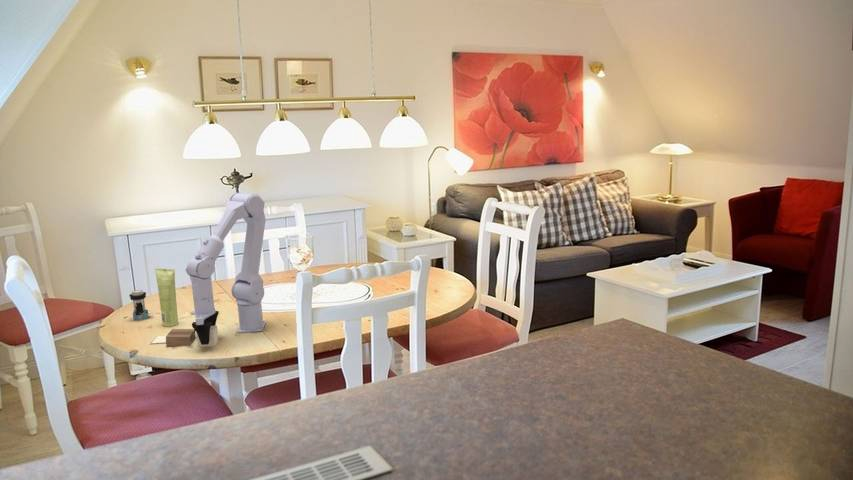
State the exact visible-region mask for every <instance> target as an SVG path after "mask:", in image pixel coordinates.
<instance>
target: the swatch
mask: <svg viewBox="0 0 853 480" xmlns="http://www.w3.org/2000/svg"><path fill="white" fill-rule="evenodd" d="M166 336H167V335H159V336H155V338H154V339H153V340H152V341H151V342H150V344H149V346H150V345H162V344H163V345H164V344H165V345H166Z"/></svg>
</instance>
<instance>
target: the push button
mask: <svg viewBox="0 0 853 480" xmlns="http://www.w3.org/2000/svg"><path fill="white" fill-rule="evenodd" d="M128 296H129V299H130V301H132V303H133V312H132V317H133V318H132V320H133V321H142V319H143V320H148V319H149V318H150V317H151V318H152V317H153V314H154V312H151V313H149V310H148V309H147V308H146V304H145V303H146V302H145V298H146V297H147V292H145V291H144V290H143V289H136V290H133V291H131V293H130V294H129V295H128Z"/></svg>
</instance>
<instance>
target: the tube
mask: <svg viewBox="0 0 853 480" xmlns="http://www.w3.org/2000/svg"><path fill="white" fill-rule="evenodd" d="M154 272H155V277H156V284H157V291H158V297H159V305H160V306H159V307H160V312H161V313H160V314H161V321H162V326H163V327H166V328H167V327H168V328H172V327H175V326H178V325H179V315H178V305H177V293H176V292H177V291H176V290H177V289H176V274H175V273H176V272H175V269H173V268H158V267H155V268H154Z"/></svg>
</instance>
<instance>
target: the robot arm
mask: <svg viewBox="0 0 853 480" xmlns="http://www.w3.org/2000/svg"><path fill="white" fill-rule="evenodd" d="M228 199H229V200H227V202H226V203H225V210H224V212H223V214H222V217H221V218H220V221H219V223H218V224H217V226H216V228H215V231H214V232H213V234H211V235H210V236H209V235H208V236H207V237H206V238H204V239H203V240H202V243H203V244H202V245H201V246H200V248H199V250H198V252H197V253H196V254H195V255H194V257H193V258H191V259H190V260H188V263H187V265H186V268H185V273H186V274H187V275H188V276H189V277H190V278H189V279H190V283H191V290H192V291H191V292H192V297H193V306H194V310H192V311H191V312H190V315H192V316H194V317H195V319H196V321H193V322H192V323H191V327H192V329H194V330H195V334H196V336H197V335H198V337H199V340H200V342H201V345H205V344H209V337H210V327H211V326H217V325H216V324H217V319H218V316H219V313H220V312H219V310H216V309H215V301H214V293H213V291H214V290H213V283H212V282H213V281H212V275H213V274H214V272H215V264H216V261H217V259H218V257H219V256H220V254H221V252H222V251H223V249H224V247H225V244H224V240H225V238H226V237H227V236H228V234H229V233H230V231H231V230H232V228H233V227H234V226H235V224H236V223H237V221H239V220H241V219H243V220H244V221H245V222H246V231H245V239H244V244H243V245H244V247H243V254H242V260H241V261H242V262H241V269H240V272H239V273H238V274H237V275H236V276H235V277H234V283H233V285H232V286H231V290H230V291H231V292H230V294H231V296H232V297H233V298H234V299H235V303H237V312H238V313H237V315H238V323H239V326H238V328H237V330H236V333H238V334H239V333H240V334H241V333H253V332H262V331H264V327H265V325H266V323H267V320H264V318H263V308H262V300H263V298H264V296H265V288H264V279H263V278H262V277H261V275H260V263H261V258H262V249H263V242H264V234H265V226H266V215H265V210H264V209H265V205H266V204H265V201H264V199H262V197H261V196H260V195H259V194H256V193H252V194H251V193H242V192H234V193H232V194H231V195H230V197H229V198H228Z"/></svg>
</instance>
